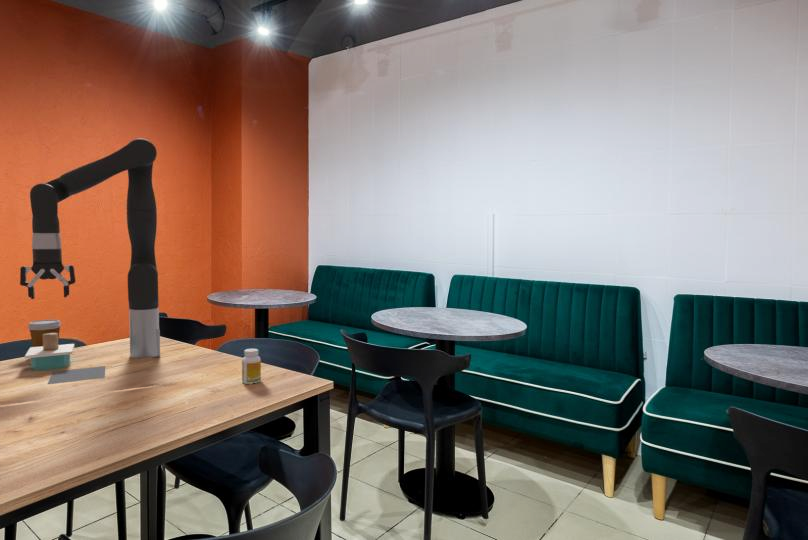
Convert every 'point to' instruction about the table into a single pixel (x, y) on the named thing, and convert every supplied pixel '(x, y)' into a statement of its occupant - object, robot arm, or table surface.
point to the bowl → (50, 362)
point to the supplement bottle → (251, 367)
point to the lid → (50, 347)
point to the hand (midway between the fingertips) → (49, 298)
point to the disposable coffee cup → (43, 330)
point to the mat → (77, 375)
